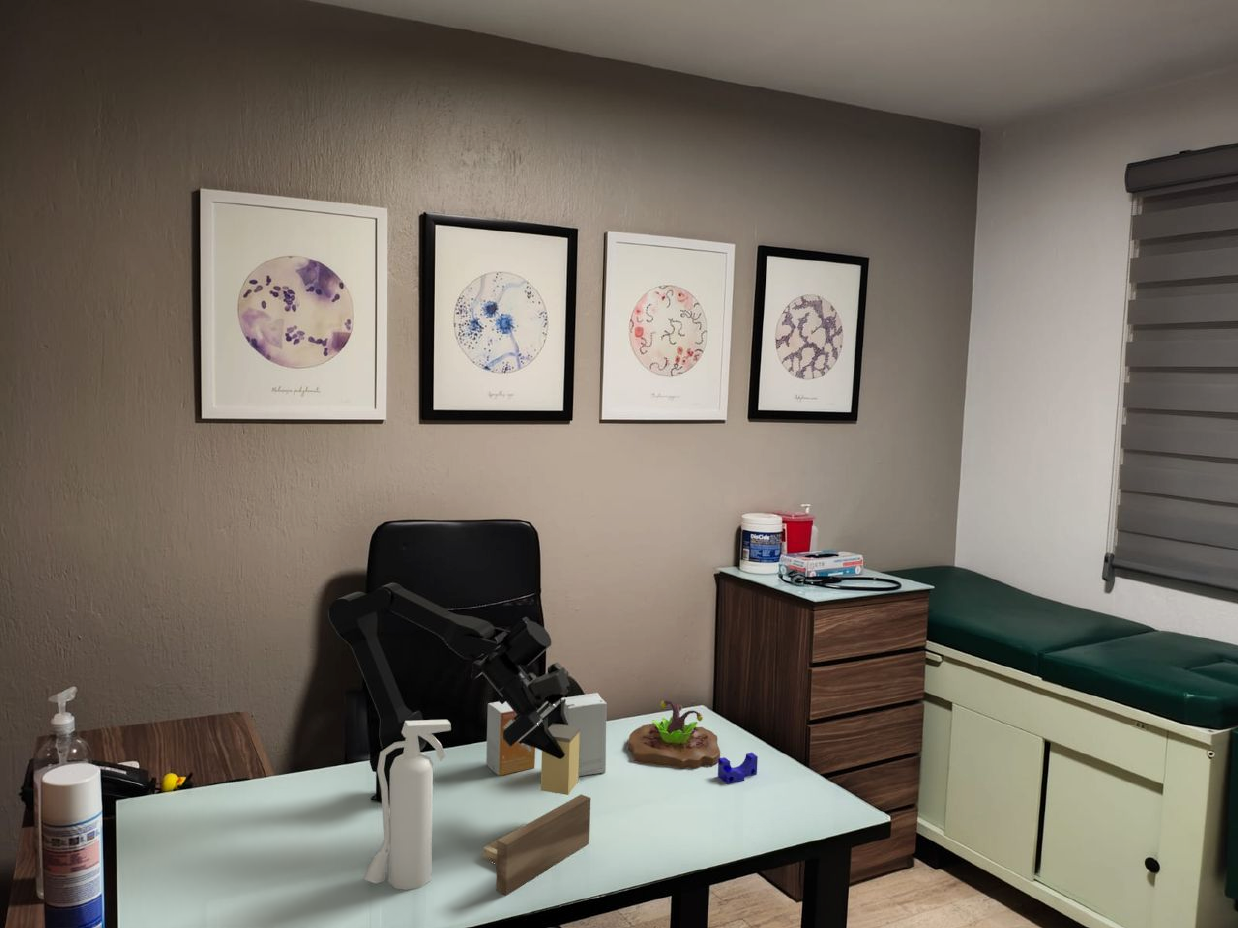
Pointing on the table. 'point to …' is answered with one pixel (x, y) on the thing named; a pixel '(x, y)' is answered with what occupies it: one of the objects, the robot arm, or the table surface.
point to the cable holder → (737, 769)
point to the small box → (498, 750)
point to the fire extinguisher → (408, 809)
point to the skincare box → (588, 730)
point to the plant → (674, 742)
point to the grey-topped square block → (561, 761)
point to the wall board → (540, 844)
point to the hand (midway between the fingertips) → (568, 750)
